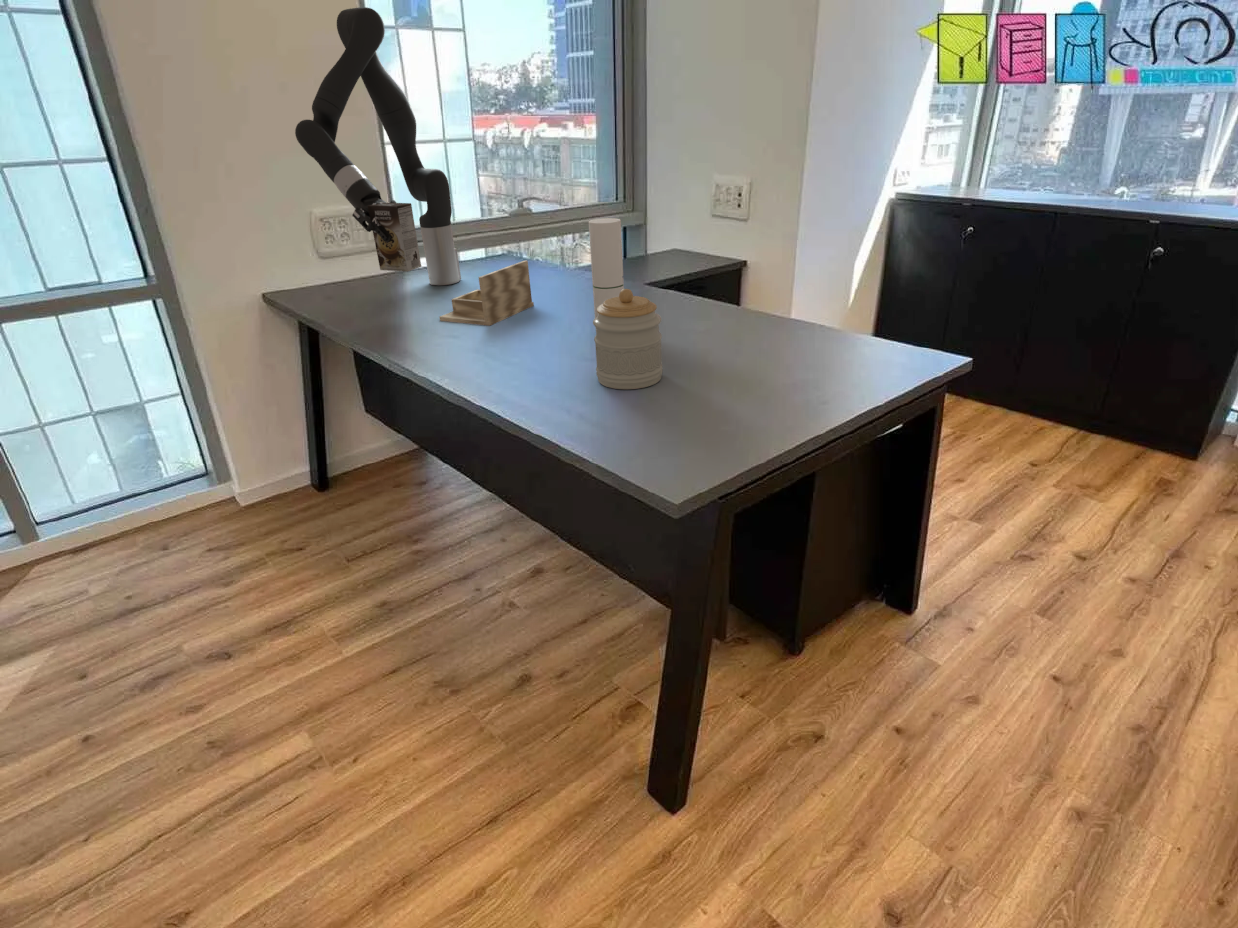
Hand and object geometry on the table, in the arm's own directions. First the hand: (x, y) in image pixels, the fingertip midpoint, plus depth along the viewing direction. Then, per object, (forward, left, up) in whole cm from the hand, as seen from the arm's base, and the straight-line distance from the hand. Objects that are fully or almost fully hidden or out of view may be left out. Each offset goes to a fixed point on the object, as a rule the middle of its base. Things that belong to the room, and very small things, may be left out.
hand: (400, 237), depth 185 cm
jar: (+25, +77, -20) cm, 83 cm away
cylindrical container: (-3, +58, -20) cm, 62 cm away
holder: (-7, +19, -20) cm, 29 cm away
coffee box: (0, -2, -8) cm, 8 cm away
